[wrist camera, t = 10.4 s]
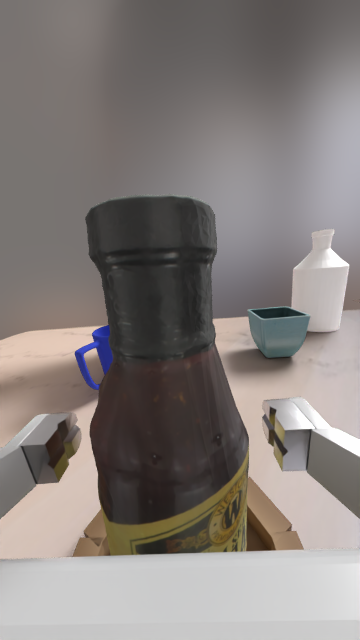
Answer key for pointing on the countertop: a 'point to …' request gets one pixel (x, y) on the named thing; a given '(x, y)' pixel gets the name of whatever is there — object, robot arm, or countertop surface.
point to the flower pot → (278, 330)
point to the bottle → (320, 284)
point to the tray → (261, 534)
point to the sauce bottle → (164, 384)
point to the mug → (103, 352)
